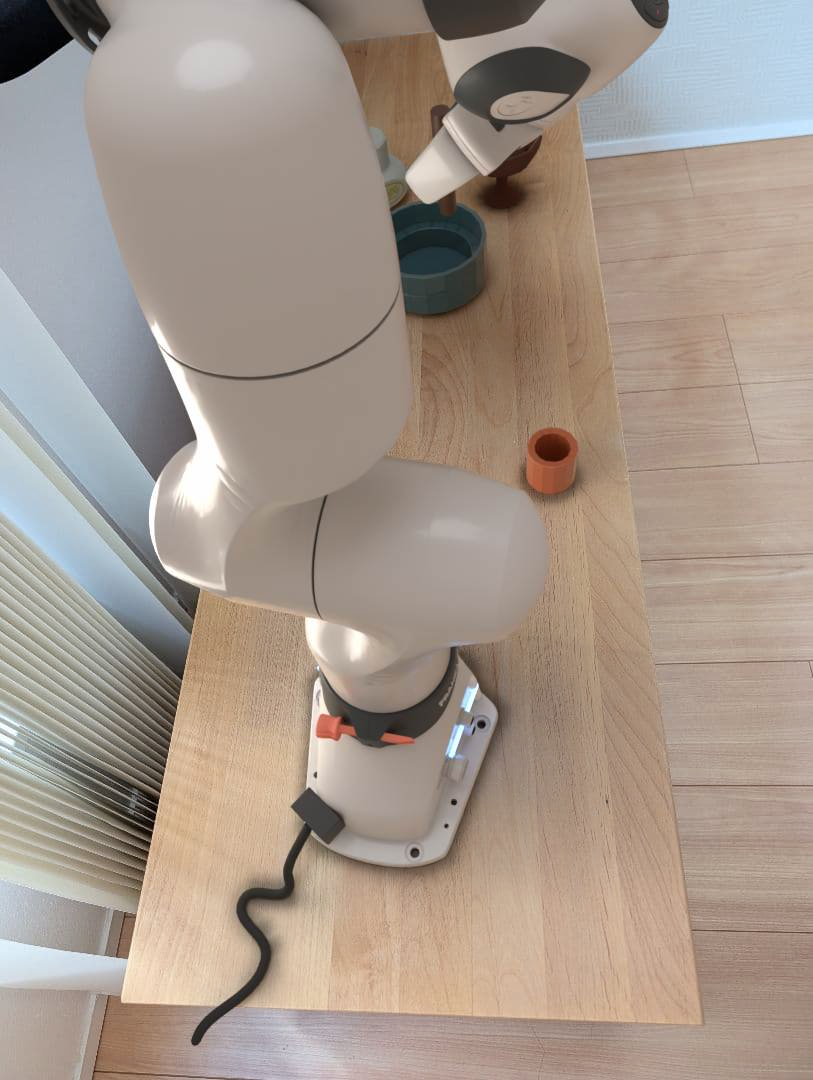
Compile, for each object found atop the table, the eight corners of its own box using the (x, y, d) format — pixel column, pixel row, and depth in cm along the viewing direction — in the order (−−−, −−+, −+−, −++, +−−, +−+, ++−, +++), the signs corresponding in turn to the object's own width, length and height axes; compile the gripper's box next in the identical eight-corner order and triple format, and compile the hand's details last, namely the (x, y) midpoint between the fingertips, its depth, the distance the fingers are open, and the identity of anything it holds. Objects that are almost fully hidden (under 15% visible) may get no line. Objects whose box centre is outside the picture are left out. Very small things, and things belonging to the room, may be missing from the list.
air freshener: (391, 171, 121) (382, 109, 113) (420, 197, 117) (413, 135, 109) (331, 201, 119) (317, 140, 111) (358, 229, 115) (346, 168, 107)
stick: (454, 216, 90) (447, 116, 79) (437, 215, 90) (428, 115, 80) (457, 204, 91) (451, 104, 80) (441, 204, 91) (432, 103, 81)
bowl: (477, 322, 103) (475, 281, 97) (367, 314, 106) (358, 274, 100) (495, 244, 110) (494, 201, 104) (391, 239, 113) (384, 197, 107)
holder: (571, 500, 88) (575, 470, 83) (522, 495, 89) (523, 464, 84) (576, 461, 91) (581, 430, 85) (529, 456, 92) (530, 425, 87)
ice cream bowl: (535, 221, 112) (539, 121, 99) (458, 218, 114) (452, 120, 101) (544, 174, 117) (548, 73, 104) (470, 172, 119) (465, 72, 106)
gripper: (551, 3, 76) (469, 81, 88) (440, 122, 68) (366, 190, 80) (589, 59, 78) (504, 128, 90) (485, 181, 71) (407, 238, 83)
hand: (438, 158), depth 85 cm, fingers closed on stick, 2 cm apart
